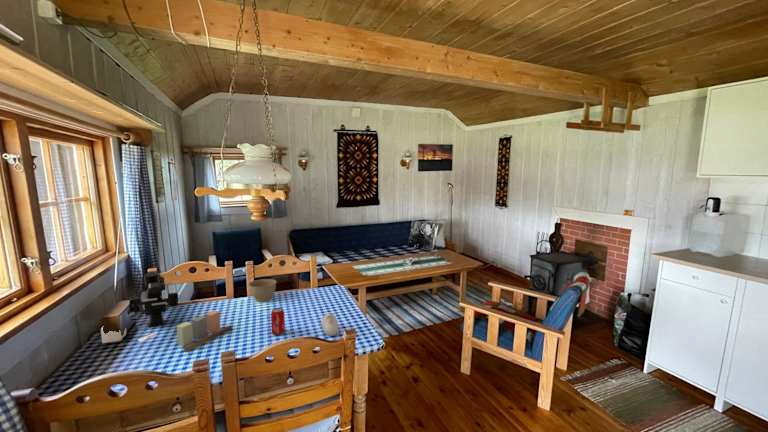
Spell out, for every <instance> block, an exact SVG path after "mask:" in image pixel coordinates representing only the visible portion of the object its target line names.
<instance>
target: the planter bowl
mask: <svg viewBox="0 0 768 432" xmlns="http://www.w3.org/2000/svg"><path fill="white" fill-rule="evenodd" d="M248 287H249V292H250V294H251V296H252V297H253V298H254V300H255V301H256V302H257V303H260V302H268V301H270V300H272V297H273V295H274V294H275V291H276V287H277V280H276V279H271V278H263V279H262V278H261V279H256V280H253V281H251V282H249V283H248Z"/></svg>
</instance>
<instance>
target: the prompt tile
mask: <svg viewBox="0 0 768 432" xmlns="http://www.w3.org/2000/svg"><path fill="white" fill-rule="evenodd" d="M157 335H158V334H157V333H154V332H153V333H151V334H147V335H145V336H143V337H140V338H139V339H137V342H139V343H140V342H141V343H142V342H143V341H145V340H148V339H151V338H153V337H155V336H157Z"/></svg>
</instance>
